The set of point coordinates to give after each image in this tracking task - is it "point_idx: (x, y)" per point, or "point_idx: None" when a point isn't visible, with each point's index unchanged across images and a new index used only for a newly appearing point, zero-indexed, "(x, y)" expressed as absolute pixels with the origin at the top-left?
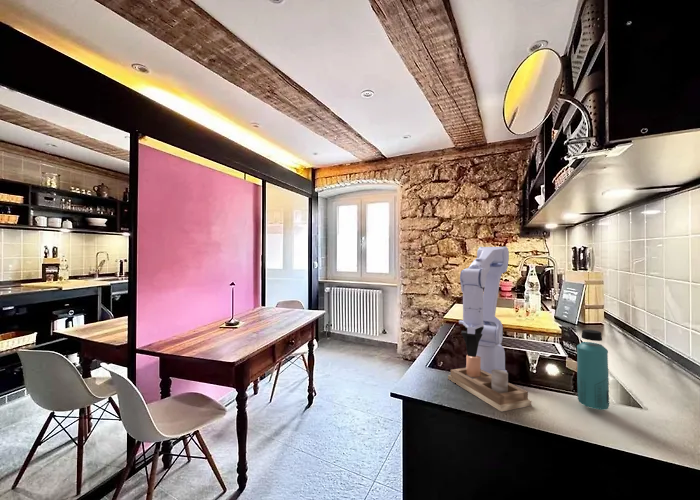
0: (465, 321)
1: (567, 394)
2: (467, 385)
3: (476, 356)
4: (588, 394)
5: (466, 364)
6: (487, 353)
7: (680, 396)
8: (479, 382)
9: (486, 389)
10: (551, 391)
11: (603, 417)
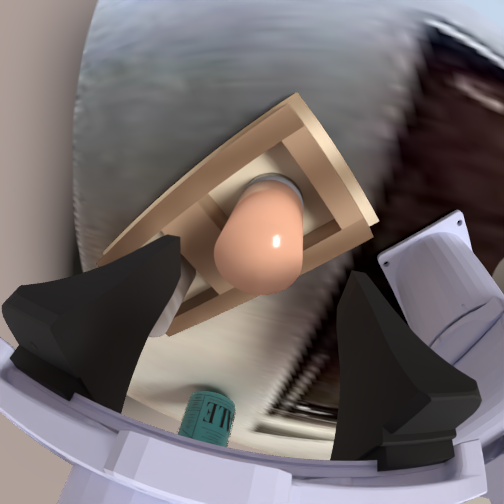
0: (72, 483)
1: (276, 390)
2: (194, 172)
3: (270, 277)
4: (186, 411)
5: (259, 197)
6: (417, 325)
7: (309, 458)
8: (168, 224)
9: (123, 238)
10: (284, 375)
11: (192, 390)
